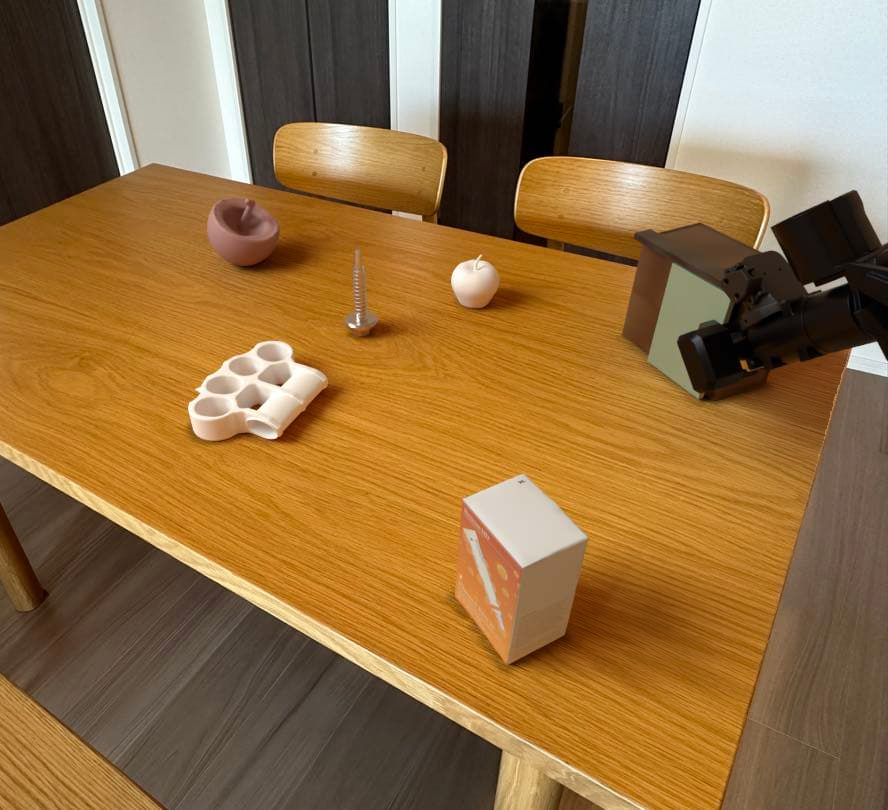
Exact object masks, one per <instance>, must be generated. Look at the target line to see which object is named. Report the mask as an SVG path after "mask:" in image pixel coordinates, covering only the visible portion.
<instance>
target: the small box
mask: <svg viewBox="0 0 888 810" xmlns="http://www.w3.org/2000/svg"><path fill="white" fill-rule="evenodd" d="M460 511H461V513H460V514H461V515H460V525H459V536H458V552H457V563H456V576H455V585H454V586H455V589H454V597H455V599H456V600H457V602H459V603H460V604H461V606H462V607H463V608H464V610H465V611H466V612H467V614H468V615H469V616H470V617H471V619H472V620H473V621H474V623H475V624H476V625H477V626H478V628H479V629H480V630H481V632H482V633H483V635H484V636H485V638H487V640H488V641H489V643H490V644H491V646H492V647H493V648H494V649H495V651H496V653H497V654H498V655H499V657H500V658H501V659H502V661H503V662H504V663H505V665H507V666H509V665H511V664H513V663H514V662H516V661H518V660H520V659H522V658H524V657H525V656H528V655H529V654H531V653H533V652H535V651H537V650H539V649H541V648H543V647H545V646H547V645H549V644H550V643H552V642H554V641H556V640H558V639H560V638H562V637H564V636H565V635H566V631H567V627H568V623H569V620H570V616H571V612H572V608H573V604H574V600H575V596H576V591H577V587H578V583H579V579H580V575H581V572H582V571H581V570H582V567H583V563H584V559H585V555H586V551H587V547H588V544H589V539H590V538H589V536H588V535H587V533H585V531H584V530H583V529H581V527H580V526H579V525H577V524H576V522H575V521H574V520H572V519H571V518H570V517H569V515H568V514H567V513H565V511H564V510H563V509H562V508H561V507H560V506H559V504H557V502H555V501H554V499H552V498H551V497H550V496H549V495H548V494H547V493H545V492H544V491H543V490H542V489H541V488H540V487H539V486H538V485H537V484H536V483H535V482H533V481H532V480H531V479H530V478H529V476H527V474H525V473H520V474H519V475H517V476H514V477H511V478H509V479H506V480H504V481H501V482H499V483H496V484H494V485H492V486H490V487H488V488H485V489H483V490H480V491H478V492H475V493H473V494H471V495H469V496H467V497H465V498H462V500H461V510H460Z"/></svg>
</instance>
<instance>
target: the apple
mask: <svg viewBox="0 0 888 810" xmlns="http://www.w3.org/2000/svg"><path fill="white" fill-rule="evenodd" d="M482 257H483V254H479V256H478V257H477V258H476V259H470V260H465V261H463V262H460V263H459V264H458V265H457V266H456V267H455V268H454V270H453V272H452V274H451V276H450V283H451V288H452V290H453V292H454V295H455V297H456V299H457V301H458V302H459V304H460V305H461V306H463V307H465V308H469V309H482V308H484V307H486V306H487V305H488V304H489V303H490V302H491V300H492V299H493V297H494V295H495V294H496V292H497V291H498V289H499V286H500V275H499V271H498V269H496V267H494V266H493V264H492V263H490V262H489V261H486V260H481V259H482Z"/></svg>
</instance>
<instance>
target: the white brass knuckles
mask: <svg viewBox="0 0 888 810" xmlns="http://www.w3.org/2000/svg"><path fill="white" fill-rule="evenodd" d="M328 384H329V379H328V377H327V375H325V374H324V373H323V372H321V370H319V369H316V368H314V367H310V366H308V365H305V364H302V363H298V362H296V360H295V352H294V349H293V348H292V346H291V345H289V344H288V343H286V342H283V341H280V340H267V341H262V342H259V343H257V344H255V346H254V347H253V348H252V349H251V350H248V352H245V353H242V354H238V355H234V356H232V357H230V358H229V359H226V360H225V361H223V363H222V366H221V367H220V368H218V370H217V371H215V372H214V373H211V374H209V375H207V376H206V377H205V379H204V381H203V382H202V384H201V385H200V386H199V387H197V388H195V389H194V390H195V391H196V392H198V393H199V395H197V397H196V398H194V399H193V400H191V401H190V402H189V403H188V407H187V409H188V410H187V411H188V416H189V418H190V422H191V426H192V430H193V432H194V434H195V435H196V436H197V437H198V438H199V439H202V440H205V441H208V442H209V441H210V442H218V441H225V440H227V439H230V438H233V437H234V436H236V435H238V434H245V433H249V434H252V435H255V436H258V437H261V438H263V439H267V440H275V439H277V438H279V437H281V436H282V435H283V434H284V431H285V430H286V429H287V428H288V427H289V426H290V425H291V424H292V423H293V422H294V421H295V420H296V418H297V417H298V416H299V415H300V414H301V413H304V412H305V411H306V410H307V407H308V406H309V405H310V404H311V403H312V401H313V400H314V399H315V398H316V397H317V396H318V395H319V394H320V393H321V392H322V390H324V389H326V388H328ZM279 385H282V386H279ZM256 405H261V406H260V407H259V408H258V409H257V410H256V409H253V406H256Z"/></svg>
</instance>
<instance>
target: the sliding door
mask: <svg viewBox="0 0 888 810" xmlns="http://www.w3.org/2000/svg"><path fill="white" fill-rule="evenodd" d="M733 306H734V303H733V302H731V300H730V299H729V298H728V296H727V295H726V293H725V292H724V291H723V289H722V288H720V287H718V286H717V285H715V284H713V283H711V282H710V281H708V280H706V279H704V278H702V277H701V276H699V275H697V274H695V273H694V272H692V271H690V270H688V269H687V268H685V267H683V266H681V265H679V264H678V263H676V262H675V263H672V266H671V270H670V274H669V278H668V282H667V286H666V290H665V294H664V297H663V301H662V305H661V309H660V313H659V317H658V321H657V325H656V329H655V332H654V336H653V340H652V344H651V348H650V352H649V355H648V357H647V360H646V362H647V363H649V364H650V365H652V366H653V367H654V368H655V369H657V370H658V371H659V372H661V373H663V375H665V376H666V377H667V378H669V379H671V380H672V381H673V382H674V383H676V385H678V386H679V387H681V388H682V389H684V390H685V391H687V392H688V393H689V394H691V396H693V397H695V398H696V399H697V400H701V399H703V398H704V396H705V393H701V394H699V393H698V392H696V391H694V390H693V387H692V384H691V381H690V378H689V376H688V373H687V370H686V367H685V364H684V362H683V359H682V356H681V353H680V350H679V348H678V345H677V340H678V338H679V336H680V335H683V334H686V333H688V332H691V331H694V330H697V329H701V328H704V327H708V326H711V325H714V324H718V323H719V324H725V323H728V321H729V318H730V315H731V312H732V309H733Z"/></svg>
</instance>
